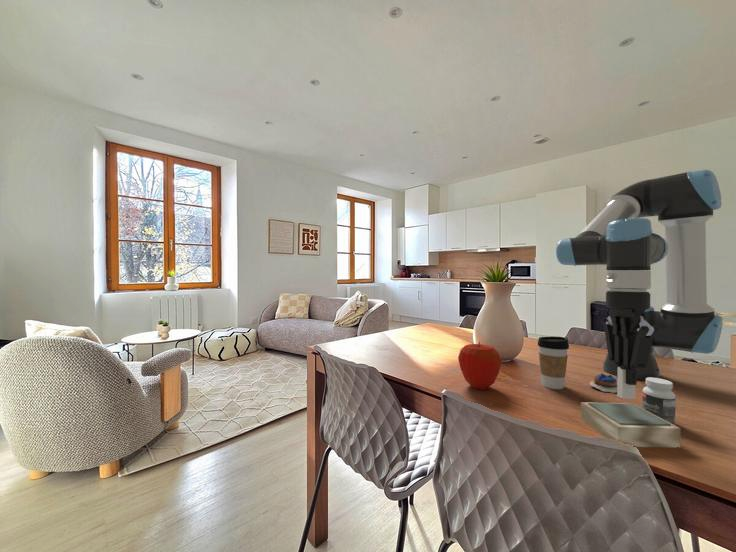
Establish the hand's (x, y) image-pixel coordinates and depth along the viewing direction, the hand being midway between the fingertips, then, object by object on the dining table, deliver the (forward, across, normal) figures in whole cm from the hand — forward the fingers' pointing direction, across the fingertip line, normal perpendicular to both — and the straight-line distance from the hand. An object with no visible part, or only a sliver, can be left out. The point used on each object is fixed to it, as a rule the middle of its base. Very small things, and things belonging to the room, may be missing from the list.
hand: (626, 397), depth 69 cm
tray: (+8, 0, 0) cm, 8 cm away
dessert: (+9, -28, +13) cm, 32 cm away
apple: (+8, -26, -24) cm, 36 cm away
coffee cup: (+8, -28, -1) cm, 29 cm away
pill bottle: (+8, -5, +11) cm, 15 cm away
